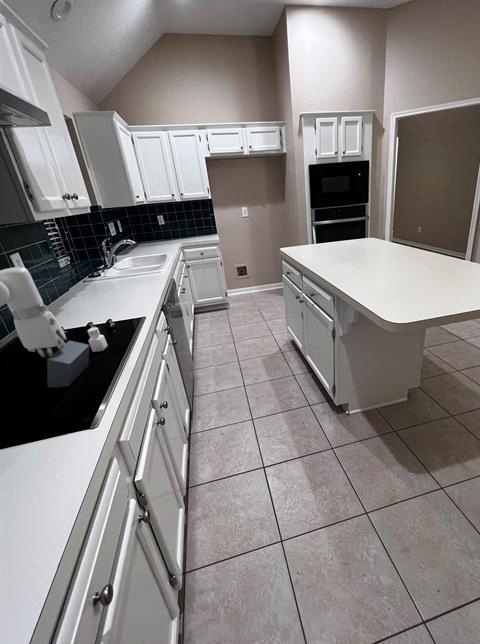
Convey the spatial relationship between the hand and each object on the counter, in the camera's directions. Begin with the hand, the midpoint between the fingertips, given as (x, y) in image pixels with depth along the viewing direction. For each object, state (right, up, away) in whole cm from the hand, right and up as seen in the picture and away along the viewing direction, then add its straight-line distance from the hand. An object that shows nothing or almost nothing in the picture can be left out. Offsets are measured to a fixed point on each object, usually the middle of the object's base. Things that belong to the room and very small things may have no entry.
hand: (55, 365), depth 97 cm
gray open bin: (+3, -4, +2) cm, 5 cm away
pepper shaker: (+4, +2, +18) cm, 18 cm away
